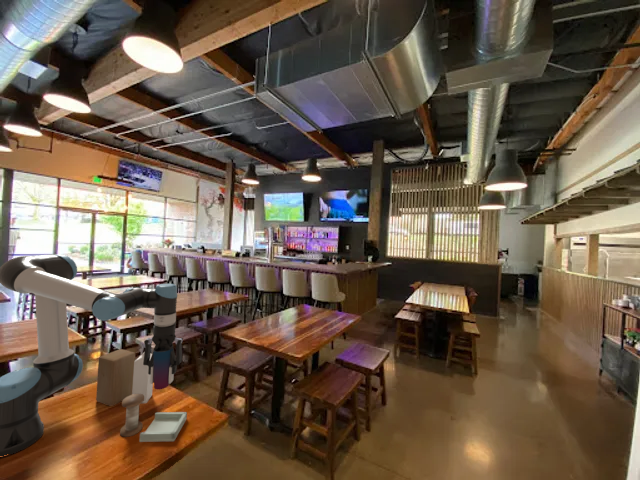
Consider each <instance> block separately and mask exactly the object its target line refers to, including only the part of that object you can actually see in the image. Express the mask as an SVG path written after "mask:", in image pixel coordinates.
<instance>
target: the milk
mask: <svg viewBox="0 0 640 480" xmlns="http://www.w3.org/2000/svg"><path fill="white" fill-rule="evenodd" d="M144 353H145V351H144V352H143V353H142V354H141V355H139V357H138V358H136V359H135V361H134V374H133V389H132V395H133V394H143V395H144V401H143V402H142V403H141V404H148V402H149V400H150V399H151V397H152V396H153V388H154V383H153V384H150V378H151V375H149V374H148V370H149V367H148V366H147V365H143V361H144ZM152 354H153V353H151V354H150V359H151V356H152Z"/></svg>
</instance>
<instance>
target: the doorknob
mask: <svg viewBox="0 0 640 480" xmlns="http://www.w3.org/2000/svg"><path fill="white" fill-rule="evenodd" d="M143 401H144V395H143V394H133V395H130V396H127V397H126V398H124V399H123V400H122V401H121V406H122V407H123V408H126V409H125V410H126V412H125V424H124V425H123V426H122V427H121V428H120V430H119V435H120V436H121V437H123V438H129V437H133V436H134V435H136V434H137V435H138V433H141V432H142V429H143V422H142V421H140V420H139V415H140V405H141V404H143V403H142V402H143Z"/></svg>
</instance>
